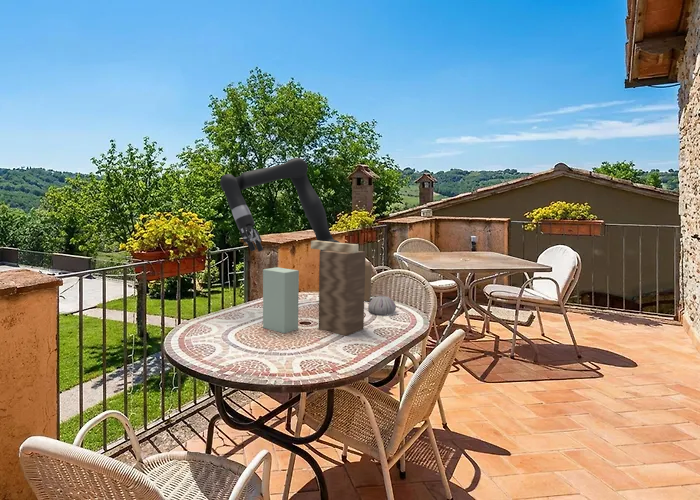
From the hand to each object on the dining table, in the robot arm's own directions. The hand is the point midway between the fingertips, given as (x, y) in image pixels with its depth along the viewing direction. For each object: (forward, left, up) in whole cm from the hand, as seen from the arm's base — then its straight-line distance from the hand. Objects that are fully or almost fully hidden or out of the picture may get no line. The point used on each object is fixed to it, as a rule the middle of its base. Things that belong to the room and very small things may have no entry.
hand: (257, 250), depth 194 cm
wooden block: (-61, -6, -30) cm, 68 cm away
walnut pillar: (-22, +35, -29) cm, 51 cm away
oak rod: (-20, +31, +3) cm, 37 cm away
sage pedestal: (-1, +22, -30) cm, 37 cm away
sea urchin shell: (-54, +21, -30) cm, 65 cm away
